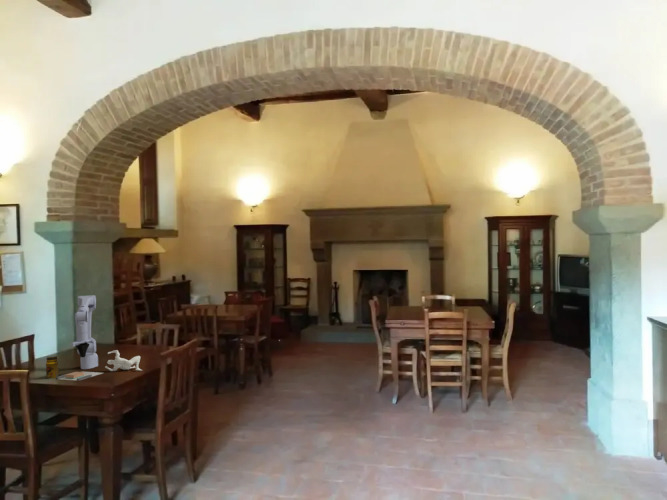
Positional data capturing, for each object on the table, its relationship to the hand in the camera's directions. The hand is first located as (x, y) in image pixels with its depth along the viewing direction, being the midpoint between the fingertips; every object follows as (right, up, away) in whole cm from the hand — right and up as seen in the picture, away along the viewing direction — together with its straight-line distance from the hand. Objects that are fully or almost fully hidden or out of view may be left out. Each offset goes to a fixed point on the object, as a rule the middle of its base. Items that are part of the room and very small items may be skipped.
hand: (82, 357), depth 296 cm
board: (+1, -10, -4) cm, 11 cm away
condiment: (-14, -11, -5) cm, 19 cm away
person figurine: (+21, -10, +7) cm, 24 cm away
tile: (0, -9, -4) cm, 9 cm away
